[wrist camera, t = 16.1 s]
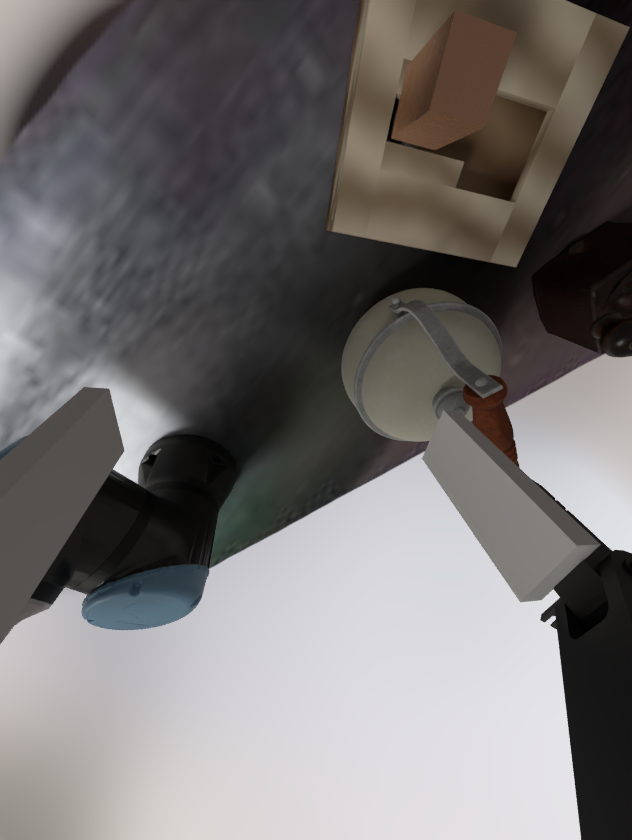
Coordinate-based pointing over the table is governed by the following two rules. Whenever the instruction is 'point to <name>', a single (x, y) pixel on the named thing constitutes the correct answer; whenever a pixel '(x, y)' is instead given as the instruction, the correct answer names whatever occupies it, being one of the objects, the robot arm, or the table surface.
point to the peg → (451, 83)
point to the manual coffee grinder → (590, 291)
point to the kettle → (427, 367)
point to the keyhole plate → (475, 153)
